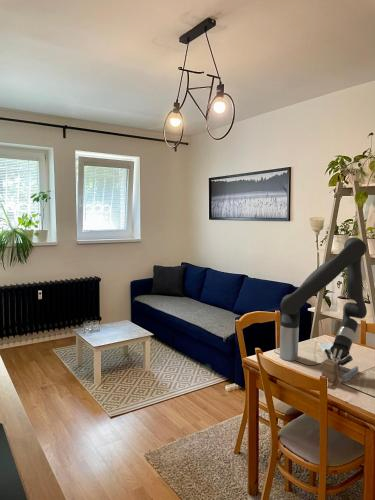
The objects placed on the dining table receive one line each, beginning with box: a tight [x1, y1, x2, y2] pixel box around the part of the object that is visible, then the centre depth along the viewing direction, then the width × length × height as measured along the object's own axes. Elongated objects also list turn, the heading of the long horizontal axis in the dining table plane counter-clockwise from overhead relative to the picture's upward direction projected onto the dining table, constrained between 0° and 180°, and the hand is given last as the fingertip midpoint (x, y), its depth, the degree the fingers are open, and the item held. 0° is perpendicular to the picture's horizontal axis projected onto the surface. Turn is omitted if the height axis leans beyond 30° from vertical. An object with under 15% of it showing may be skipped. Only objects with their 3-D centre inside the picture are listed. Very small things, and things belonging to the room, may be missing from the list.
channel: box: [338, 365, 359, 383], centre depth 174 cm, size 16×10×2 cm, turn 135°
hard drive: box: [318, 342, 334, 353], centre depth 205 cm, size 2×8×12 cm
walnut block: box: [321, 358, 340, 389], centre depth 163 cm, size 9×6×10 cm, turn 136°
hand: (332, 371), depth 166 cm, fingers closed
